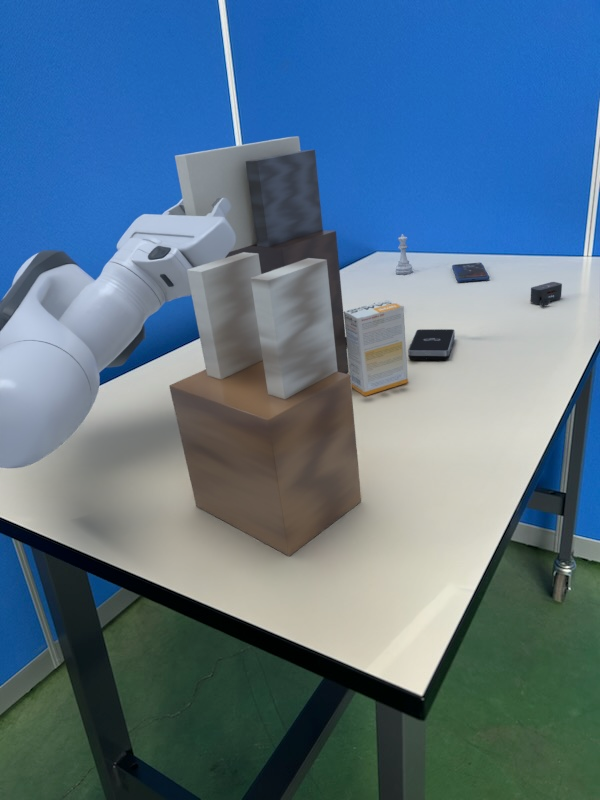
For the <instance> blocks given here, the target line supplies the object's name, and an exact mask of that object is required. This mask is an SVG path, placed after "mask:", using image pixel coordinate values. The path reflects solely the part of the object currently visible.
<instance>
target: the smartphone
mask: <svg viewBox="0 0 600 800" xmlns="http://www.w3.org/2000/svg"><path fill="white" fill-rule="evenodd" d="M451 268H452V271H453V273H454V276H455V278H456V281H457V282H458V283H461V282H462V283H463V282H475V281H487V280H490V278H491V277H490V275H489V273H488V272H487V269H485V266H484V264H483V263H482V262H469V263H460V264H459V263H458V264H452V265H451Z"/></svg>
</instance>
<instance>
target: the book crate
mask: <svg viewBox="0 0 600 800" xmlns="http://www.w3.org/2000/svg"><path fill="white" fill-rule="evenodd" d="M187 274H188V279H189V284H190V289H191V295H190V296H191V300H192V304H193V305H192V306H193V310H194V314H195V320H196V325H197V330H198V335H199V339H200V345H201V350H202V355H203V361H204V366H205V369H203V370H201V371H199V372H197V373H195V374H192V375H190V376H187V377H185V378H183V379H181V380H178V381H176V382H174V383H172V384H169V386H168V387H169V391H170V396H171V401H172V405H173V409H174V414H175V418H176V422H177V428H178V432H179V436H180V440H181V444H182V449H183V454H184V459H185V463H186V468H187V471H188V477H189V480H190V481H189V482H190V485H191V489H192V490H191V491H192V494H193V499H194V503H195V506H196V507H197V508H199V509H201V510H203V511H204V512H207V514H210V515H212V516H214V517H216V518H217V519H219V520H221V521H223V522H225V523H226V524H228V525H231V526H232V527H234V528H236V529H237V530H239V531H242V532H244V533H245V534H247V535H249V536H251V537H253V538H255V539H256V540H257V541H260V542H262V543H263V544H266V545H268V546H269V547H271V548H273V549H275V550H277V551H278V552H280V553H282V554H284V555H286V556H288V557H290V556H292V555H293V554H294V553H296V552H297V551H299V550H300V549H301V548H302V547H304V546H305V545H307V544H308V543H309V542H310V541H311V540H313V539H315V538H316V537H317V536H318V535H319V534H321V533H322V532H324V531H325V530H326V529H327V528H328V527H330V526H331V525H333V524H334V523H335V522H336V521H338V520H339V519H340V518H341V517H343V516H344V515H346V514H347V513H348V512H350V511H351V510H352V509H354V508H355V507H356V506H358V505H359V504H360V503H362V493H361V482H360V470H359V458H358V448H357V437H356V436H357V435H356V426H355V425H356V424H355V414H354V403H353V393H352V392H353V390H352V387H351V378H350V373H349V374H348V373H346V374H345V373H341V372H337V360H336V350H335V340H334V330H333V320H332V309H331V299H330V289H329V279H328V268H327V260H325V259H314V258H307V259H304V260H301V261H299V262H296V263H293V264H290V265H287V266H284V267H281V268H278V269H275V270H272V271H270V272H267V273H264V274H261V268H260V261H259V254H257V253H246V252H243V253H240V254H236V255H233V256H230V257H227V258H223V259H220V260H217V261H214V262H210V263H207V264H204V265H201V266H197V267H194V268H191V269H188V270H187Z"/></svg>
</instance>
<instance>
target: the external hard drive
mask: <svg viewBox="0 0 600 800" xmlns="http://www.w3.org/2000/svg"><path fill="white" fill-rule="evenodd" d="M455 333H456V332H455V329H453V328H451V329H450V328H449V329H448V328H445V329H444V328H440V329H439V328H436V329H433V328H432V329H429V328H428V329H425V328H424V329H423V328H422V329H421V328H420V329H416V331H415V333H414V335H413V337H412V340H411V342H410V344H409V347H408V349H407V353H408V354H407V355H408V356H407V357H408V359H409V360H411V361H412V360H414V361H415V360H417V361H420V360H421V361H424V360H426V361H446V360H448V359H449V358H450V355H451V353H452V352H451V351H452V348H453V344H454V340H455V337H456V336H455Z"/></svg>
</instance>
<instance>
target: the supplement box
mask: <svg viewBox="0 0 600 800" xmlns="http://www.w3.org/2000/svg"><path fill="white" fill-rule="evenodd" d="M404 307H405V306H404V305H403V304H400V303H397V302H395V301H392V300H389V299H386V300H383V301H378V302H374V303H370V304H367V305H364V306H360V307H356V308H351V309H347V310H343V314H344V326H345V337H346V339H347V345H346V348H347V359H348V370H349V375H350V379H351V389H354V390H355V391H357V393H359V394H361V395H363V397H367V396H370V395H374V394H376V393H380V392H382V391H385V390H388V389H389V390H390V389H391V388H394V387H395V388H396V387H399V386H402V385H405V384H408V383H409V377H408V360H407V357H408V356H407V344H406V343H407V342H406V323H405V308H404Z"/></svg>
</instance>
